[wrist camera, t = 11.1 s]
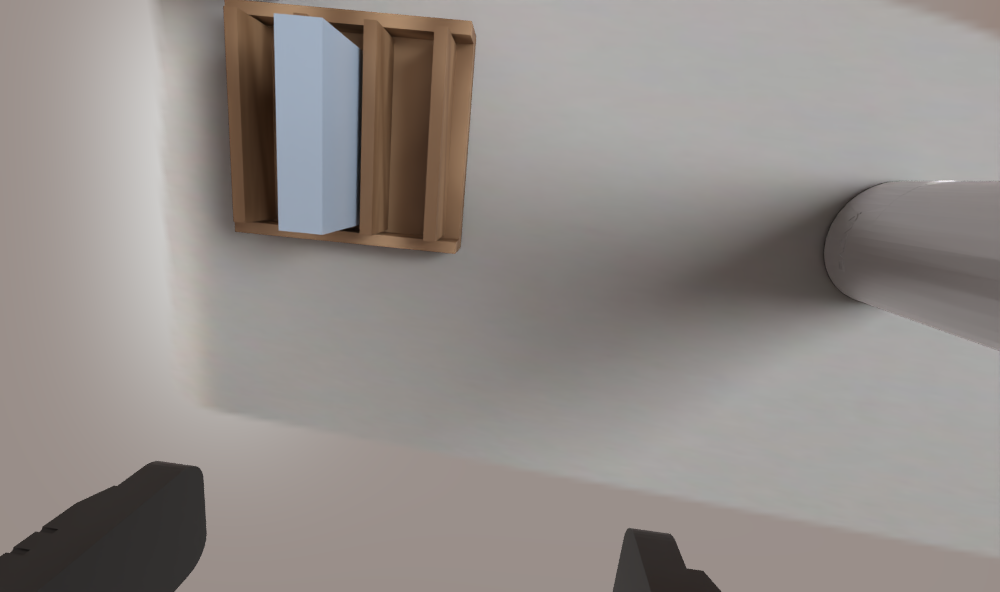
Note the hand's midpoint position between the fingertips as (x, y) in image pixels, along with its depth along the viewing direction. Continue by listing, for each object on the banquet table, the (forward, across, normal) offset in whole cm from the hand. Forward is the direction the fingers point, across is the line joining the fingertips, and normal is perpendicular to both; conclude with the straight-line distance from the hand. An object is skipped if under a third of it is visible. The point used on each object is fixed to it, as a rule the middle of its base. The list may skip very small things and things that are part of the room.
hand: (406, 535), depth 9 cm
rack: (+28, +12, -8) cm, 32 cm away
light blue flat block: (+27, +11, -8) cm, 30 cm away
